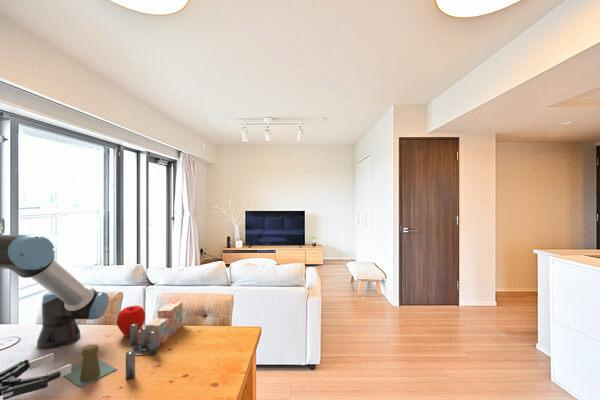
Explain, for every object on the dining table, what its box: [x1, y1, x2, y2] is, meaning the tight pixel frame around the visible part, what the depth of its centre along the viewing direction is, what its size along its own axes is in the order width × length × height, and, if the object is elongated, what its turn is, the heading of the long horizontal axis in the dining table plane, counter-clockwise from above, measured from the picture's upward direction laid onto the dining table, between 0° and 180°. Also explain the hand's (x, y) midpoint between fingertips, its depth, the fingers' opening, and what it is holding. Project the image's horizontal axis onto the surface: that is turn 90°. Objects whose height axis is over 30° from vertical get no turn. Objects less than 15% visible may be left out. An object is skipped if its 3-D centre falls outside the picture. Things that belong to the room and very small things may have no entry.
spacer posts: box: [125, 323, 158, 381], centre depth 118 cm, size 25×18×9 cm
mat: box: [63, 358, 118, 388], centre depth 109 cm, size 16×12×1 cm
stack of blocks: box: [145, 301, 183, 346], centre depth 139 cm, size 21×6×12 cm, turn 175°
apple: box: [116, 305, 146, 337], centre depth 139 cm, size 12×12×13 cm
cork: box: [80, 343, 100, 382], centre depth 106 cm, size 6×6×11 cm
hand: (61, 362), depth 102 cm, fingers open, 13 cm apart
